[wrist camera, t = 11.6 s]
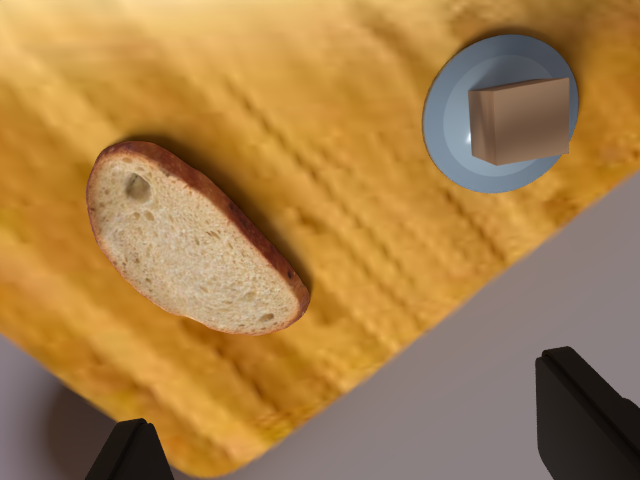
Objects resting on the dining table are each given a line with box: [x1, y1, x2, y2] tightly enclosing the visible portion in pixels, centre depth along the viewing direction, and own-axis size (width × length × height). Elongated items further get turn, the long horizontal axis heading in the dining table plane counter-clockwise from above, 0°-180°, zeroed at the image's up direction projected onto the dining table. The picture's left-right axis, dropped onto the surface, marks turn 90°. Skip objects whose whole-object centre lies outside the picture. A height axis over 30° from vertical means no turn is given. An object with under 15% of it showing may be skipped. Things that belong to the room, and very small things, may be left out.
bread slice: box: [86, 141, 310, 336], centre depth 37 cm, size 18×18×4 cm
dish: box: [422, 34, 579, 193], centre depth 35 cm, size 12×12×1 cm
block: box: [468, 78, 569, 166], centre depth 32 cm, size 5×5×5 cm
